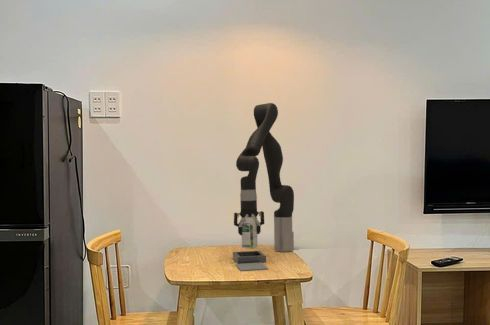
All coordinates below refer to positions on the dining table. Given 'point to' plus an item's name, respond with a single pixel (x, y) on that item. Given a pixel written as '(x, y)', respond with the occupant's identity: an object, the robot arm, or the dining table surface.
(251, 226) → the syrup box
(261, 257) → the holder
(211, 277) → the dining table surface
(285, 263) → the dining table surface
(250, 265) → the mat
